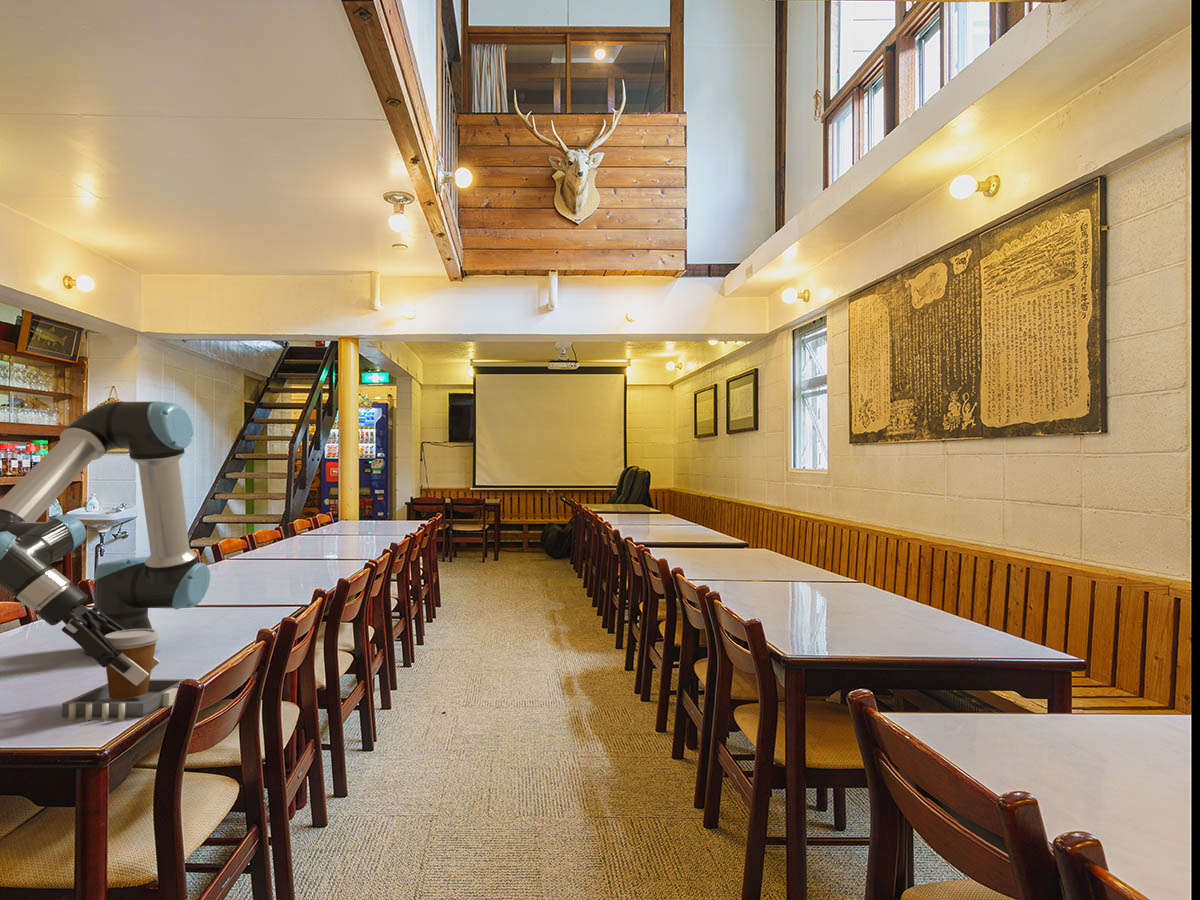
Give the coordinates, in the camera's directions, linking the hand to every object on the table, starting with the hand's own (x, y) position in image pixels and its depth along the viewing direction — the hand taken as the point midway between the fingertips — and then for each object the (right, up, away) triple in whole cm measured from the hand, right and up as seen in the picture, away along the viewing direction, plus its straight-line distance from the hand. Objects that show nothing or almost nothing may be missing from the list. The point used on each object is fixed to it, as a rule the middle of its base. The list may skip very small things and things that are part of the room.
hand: (148, 673), depth 137 cm
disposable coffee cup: (-3, -4, -1) cm, 5 cm away
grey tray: (-2, -6, -2) cm, 7 cm away
